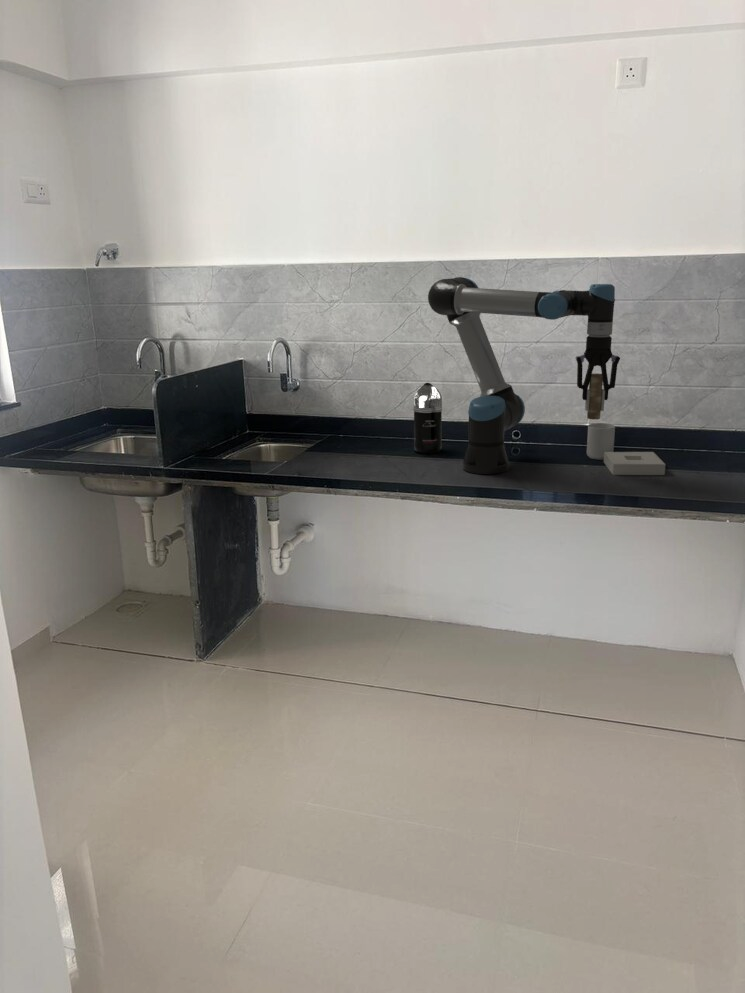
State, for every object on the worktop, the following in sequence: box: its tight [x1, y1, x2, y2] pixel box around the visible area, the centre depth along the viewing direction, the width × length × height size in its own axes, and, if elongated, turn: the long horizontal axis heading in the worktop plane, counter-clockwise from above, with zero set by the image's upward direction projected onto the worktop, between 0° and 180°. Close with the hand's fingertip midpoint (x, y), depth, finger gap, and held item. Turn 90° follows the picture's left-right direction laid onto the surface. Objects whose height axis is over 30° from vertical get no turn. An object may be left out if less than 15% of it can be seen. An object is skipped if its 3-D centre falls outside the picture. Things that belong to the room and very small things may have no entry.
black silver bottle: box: [413, 382, 443, 454], centre depth 281 cm, size 10×10×25 cm
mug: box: [586, 422, 616, 461], centre depth 271 cm, size 12×9×11 cm
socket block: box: [603, 451, 666, 476], centre depth 256 cm, size 16×16×4 cm
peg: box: [586, 373, 603, 420], centre depth 248 cm, size 4×4×14 cm
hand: (594, 409), depth 249 cm, fingers closed on peg, 4 cm apart
